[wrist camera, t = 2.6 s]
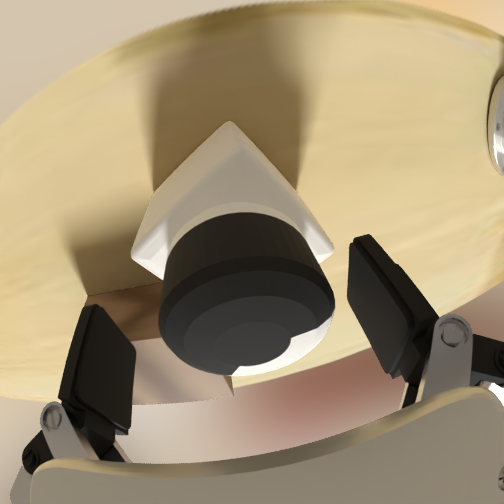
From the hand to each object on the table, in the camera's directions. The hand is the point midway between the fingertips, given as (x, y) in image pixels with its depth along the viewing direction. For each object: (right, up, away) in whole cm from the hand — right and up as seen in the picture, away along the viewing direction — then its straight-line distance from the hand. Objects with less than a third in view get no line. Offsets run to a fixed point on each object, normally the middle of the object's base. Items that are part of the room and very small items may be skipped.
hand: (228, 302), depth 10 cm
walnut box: (-8, -5, +15) cm, 18 cm away
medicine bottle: (-1, +6, +9) cm, 10 cm away
